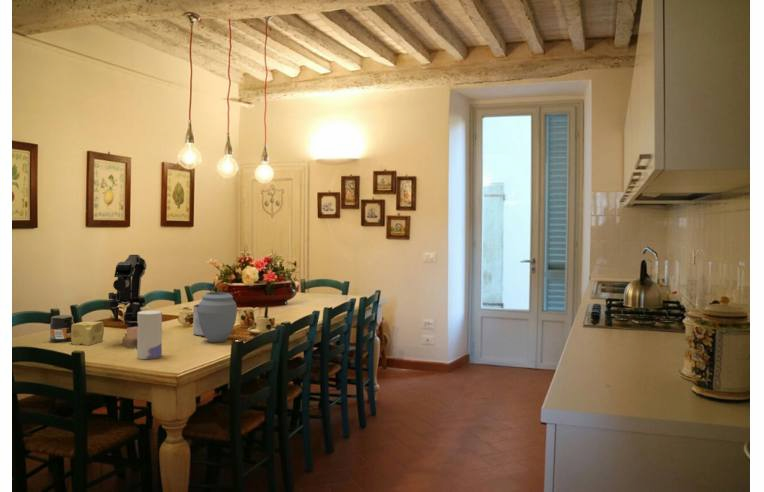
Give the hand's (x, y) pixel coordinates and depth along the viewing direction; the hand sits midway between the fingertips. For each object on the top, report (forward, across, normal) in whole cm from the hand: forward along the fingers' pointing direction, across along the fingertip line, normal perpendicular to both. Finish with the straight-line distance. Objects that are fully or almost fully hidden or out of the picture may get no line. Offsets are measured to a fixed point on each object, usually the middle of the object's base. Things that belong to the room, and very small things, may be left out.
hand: (125, 319), depth 280 cm
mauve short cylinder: (+12, +2, +11) cm, 16 cm away
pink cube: (+7, +2, +11) cm, 13 cm away
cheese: (+12, +12, -14) cm, 21 cm away
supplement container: (+12, +16, -28) cm, 34 cm away
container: (+11, +11, +35) cm, 38 cm away
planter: (+12, -40, +14) cm, 44 cm away
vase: (+12, -30, +32) cm, 45 cm away
